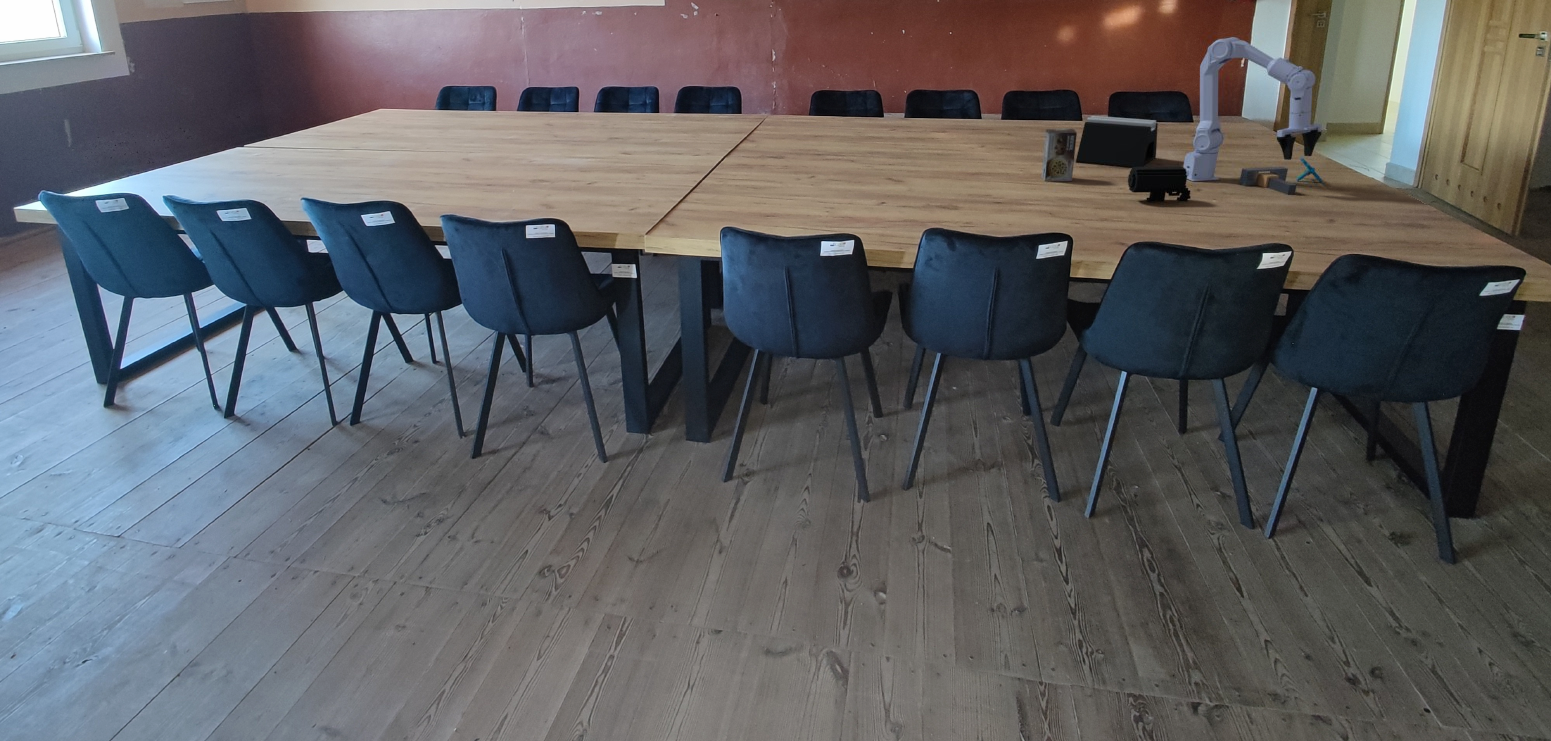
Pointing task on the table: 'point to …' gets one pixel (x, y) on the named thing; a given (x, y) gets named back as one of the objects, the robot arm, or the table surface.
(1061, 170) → the coffee box
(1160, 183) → the security camera
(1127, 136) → the device stand
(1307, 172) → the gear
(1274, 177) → the plug
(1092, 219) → the table surface
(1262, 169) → the housing
